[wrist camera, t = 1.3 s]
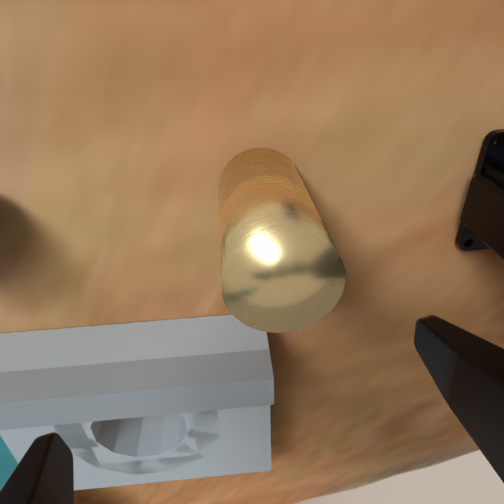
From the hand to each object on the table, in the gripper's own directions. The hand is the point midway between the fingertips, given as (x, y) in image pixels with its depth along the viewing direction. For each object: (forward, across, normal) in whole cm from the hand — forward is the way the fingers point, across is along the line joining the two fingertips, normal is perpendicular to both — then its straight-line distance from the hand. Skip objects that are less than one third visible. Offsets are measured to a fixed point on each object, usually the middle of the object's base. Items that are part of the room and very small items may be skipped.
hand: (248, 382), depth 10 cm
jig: (+12, +6, +13) cm, 19 cm away
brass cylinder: (+11, -3, 0) cm, 12 cm away
